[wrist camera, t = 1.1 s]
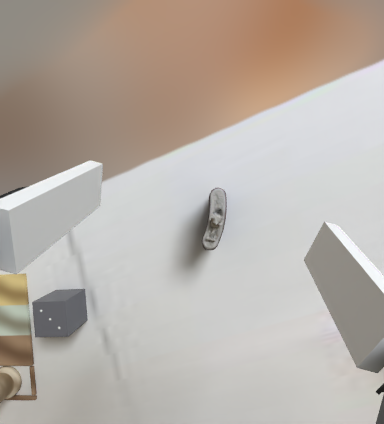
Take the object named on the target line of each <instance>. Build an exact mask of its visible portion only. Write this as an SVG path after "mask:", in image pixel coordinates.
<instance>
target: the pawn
mask: <svg viewBox="0 0 384 424" xmlns="http://www.w3.org/2000/svg"><path fill="white" fill-rule="evenodd" d="M21 384H22V380H21V376H20V374H19V372H18V371H17V370H16V369H15V368H13V367H11V366H3V367H1V368H0V403H1V402H2V401H3V400H4V399H9V398H11V397H12V396H14V395H15V394H16V393H17V392H18V391H19V390H20V388H21Z"/></svg>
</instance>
